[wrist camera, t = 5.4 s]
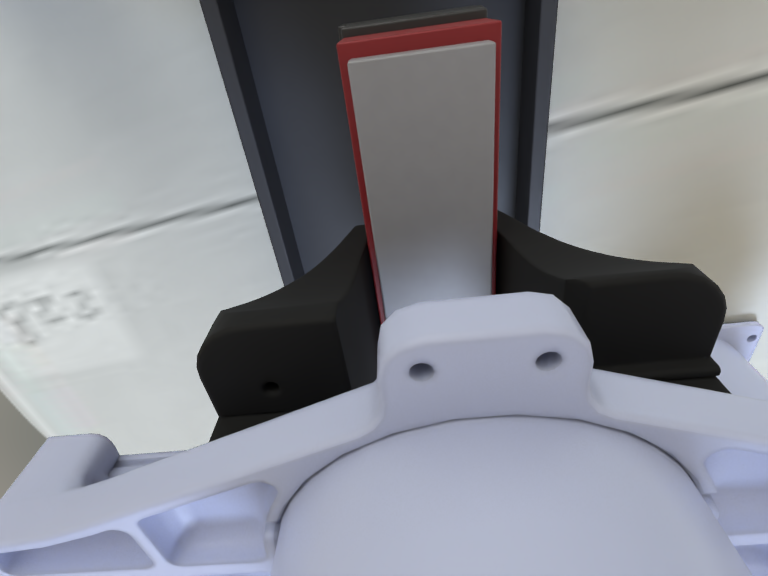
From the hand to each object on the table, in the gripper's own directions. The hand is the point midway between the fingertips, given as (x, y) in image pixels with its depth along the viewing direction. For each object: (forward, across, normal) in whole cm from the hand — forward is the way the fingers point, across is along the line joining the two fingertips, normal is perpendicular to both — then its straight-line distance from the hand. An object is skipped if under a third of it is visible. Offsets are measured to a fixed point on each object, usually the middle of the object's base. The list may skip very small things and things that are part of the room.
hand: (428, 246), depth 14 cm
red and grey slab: (+1, 0, 0) cm, 1 cm away
